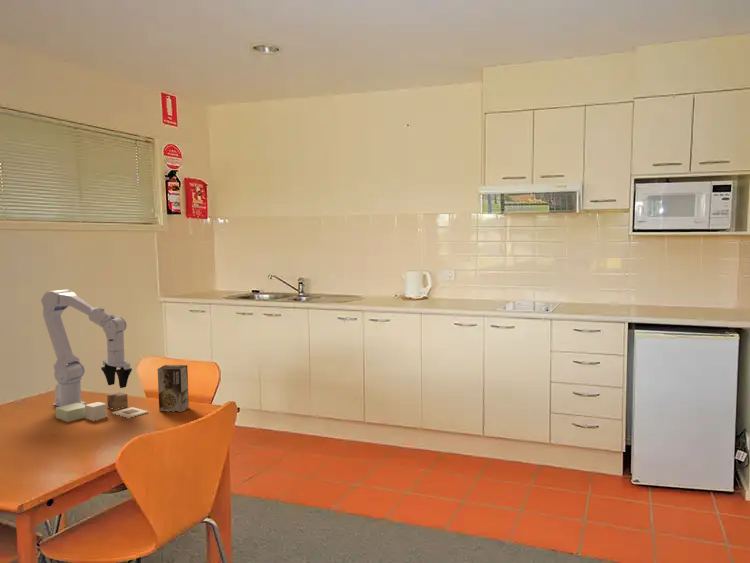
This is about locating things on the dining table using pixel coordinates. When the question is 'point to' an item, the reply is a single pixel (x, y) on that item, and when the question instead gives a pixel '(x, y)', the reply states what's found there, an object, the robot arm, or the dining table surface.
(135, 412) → the card
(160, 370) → the coffee box
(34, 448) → the dining table surface
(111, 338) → the robot arm
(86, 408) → the grey cube
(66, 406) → the base block
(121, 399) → the walnut cube
